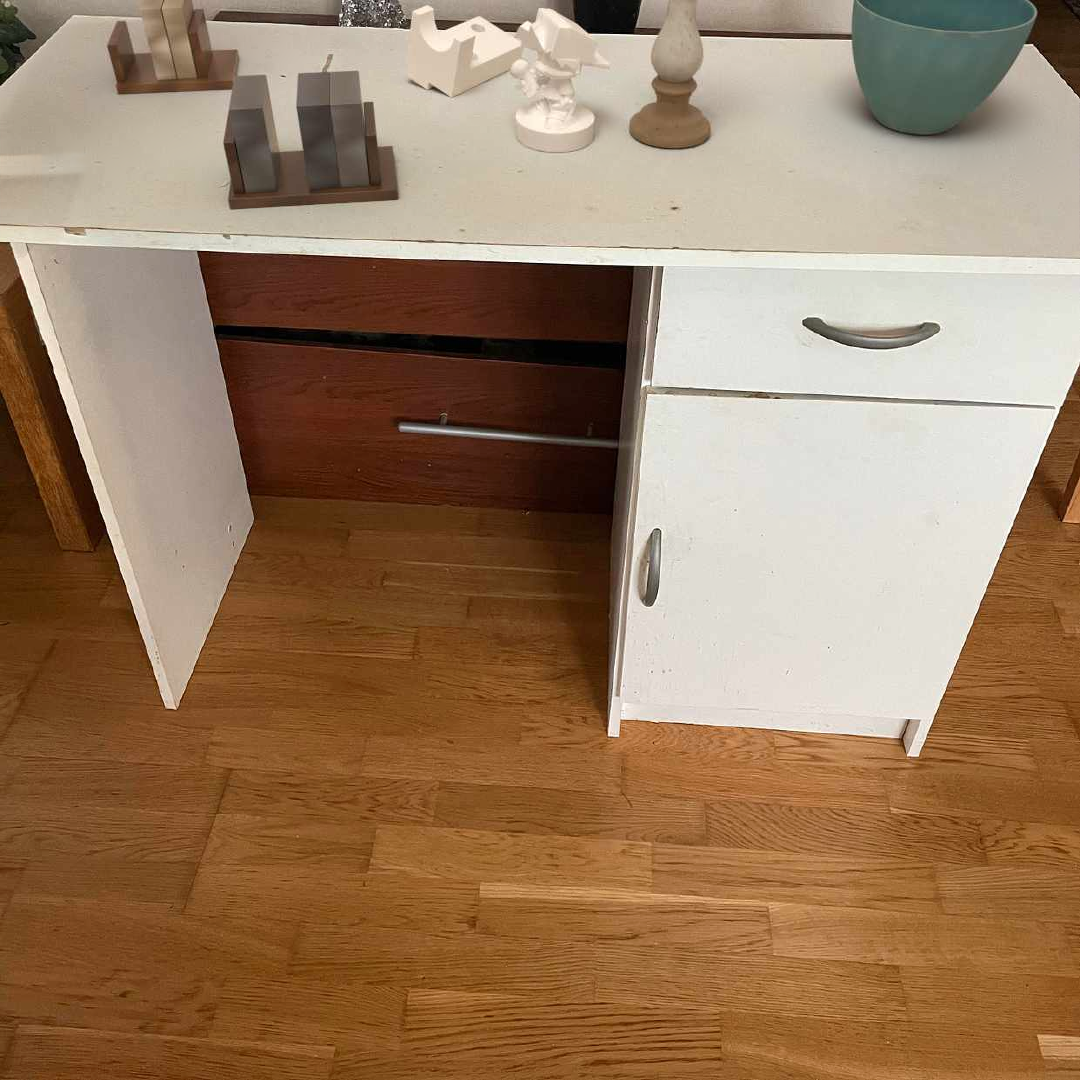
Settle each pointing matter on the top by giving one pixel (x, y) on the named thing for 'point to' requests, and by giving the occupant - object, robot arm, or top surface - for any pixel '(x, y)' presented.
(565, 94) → the character figurine
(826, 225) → the top surface
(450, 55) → the bracket
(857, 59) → the plant pot
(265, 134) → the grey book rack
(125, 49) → the brown book rack
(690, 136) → the candle holder
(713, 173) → the top surface
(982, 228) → the top surface
